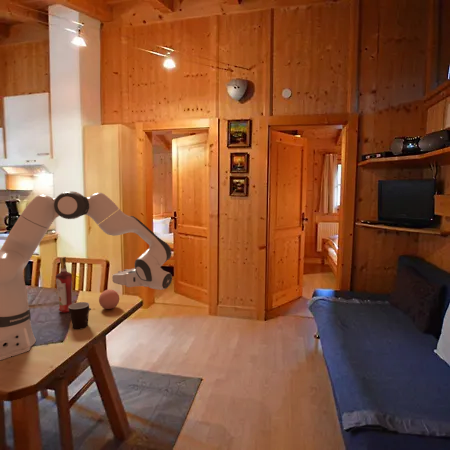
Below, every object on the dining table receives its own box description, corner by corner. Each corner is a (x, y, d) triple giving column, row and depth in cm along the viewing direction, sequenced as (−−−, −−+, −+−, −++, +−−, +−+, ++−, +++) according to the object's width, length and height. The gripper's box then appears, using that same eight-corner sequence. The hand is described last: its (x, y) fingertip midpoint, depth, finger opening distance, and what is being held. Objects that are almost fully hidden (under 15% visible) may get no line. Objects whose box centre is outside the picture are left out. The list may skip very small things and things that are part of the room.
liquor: (55, 312, 167) (51, 258, 163) (67, 307, 173) (64, 255, 170) (64, 314, 163) (60, 259, 160) (77, 309, 170) (74, 256, 166)
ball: (108, 313, 165) (107, 294, 164) (95, 309, 170) (94, 290, 169) (123, 307, 173) (123, 288, 172) (111, 303, 178) (110, 285, 177)
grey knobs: (82, 313, 165) (81, 311, 165) (77, 312, 167) (77, 309, 167) (119, 299, 185) (119, 297, 185) (115, 298, 187) (115, 296, 187)
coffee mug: (82, 331, 145) (81, 309, 144) (65, 329, 147) (64, 308, 146) (98, 320, 156) (97, 300, 155) (81, 319, 158) (80, 299, 157)
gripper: (157, 264, 161) (137, 261, 169) (124, 274, 144) (104, 270, 151) (158, 277, 162) (138, 273, 169) (125, 288, 145) (104, 283, 152)
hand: (121, 271), depth 160 cm, fingers closed
